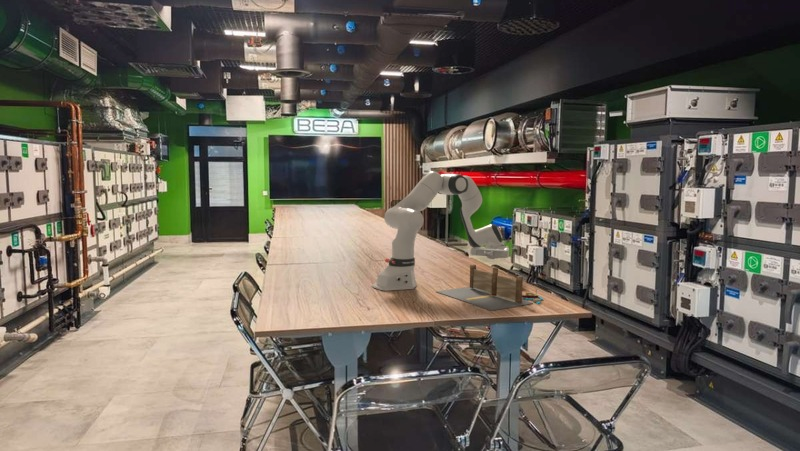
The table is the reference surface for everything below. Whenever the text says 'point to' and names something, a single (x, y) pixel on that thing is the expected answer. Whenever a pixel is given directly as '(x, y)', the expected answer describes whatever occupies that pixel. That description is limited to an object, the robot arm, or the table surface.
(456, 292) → the board
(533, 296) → the gear mechanism
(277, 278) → the table surface
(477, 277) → the fence panel
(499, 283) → the fence fixed
